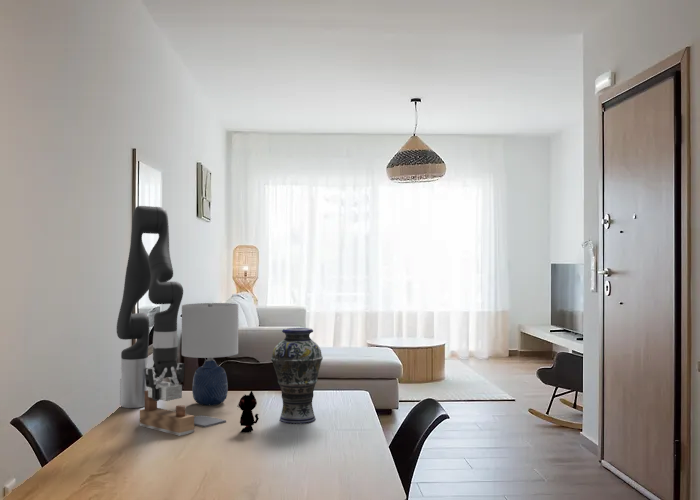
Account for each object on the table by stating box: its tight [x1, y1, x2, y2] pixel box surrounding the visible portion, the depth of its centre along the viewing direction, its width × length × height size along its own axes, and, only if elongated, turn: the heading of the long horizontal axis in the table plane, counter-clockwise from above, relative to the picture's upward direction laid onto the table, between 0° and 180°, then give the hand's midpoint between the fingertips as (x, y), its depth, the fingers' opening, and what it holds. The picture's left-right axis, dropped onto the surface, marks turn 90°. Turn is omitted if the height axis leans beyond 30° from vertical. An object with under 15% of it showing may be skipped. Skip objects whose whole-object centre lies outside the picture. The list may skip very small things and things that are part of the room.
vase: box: [270, 326, 323, 425], centre depth 230 cm, size 17×17×30 cm
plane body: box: [139, 390, 195, 437], centre depth 218 cm, size 20×6×11 cm, turn 52°
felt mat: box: [194, 415, 227, 428], centre depth 227 cm, size 12×9×1 cm
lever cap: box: [148, 380, 183, 402], centre depth 219 cm, size 9×6×5 cm, turn 52°
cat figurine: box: [236, 389, 260, 434], centre depth 215 cm, size 7×7×12 cm
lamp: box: [181, 302, 239, 406], centre depth 255 cm, size 20×20×37 cm
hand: (164, 398), depth 219 cm, fingers closed on lever cap, 6 cm apart
